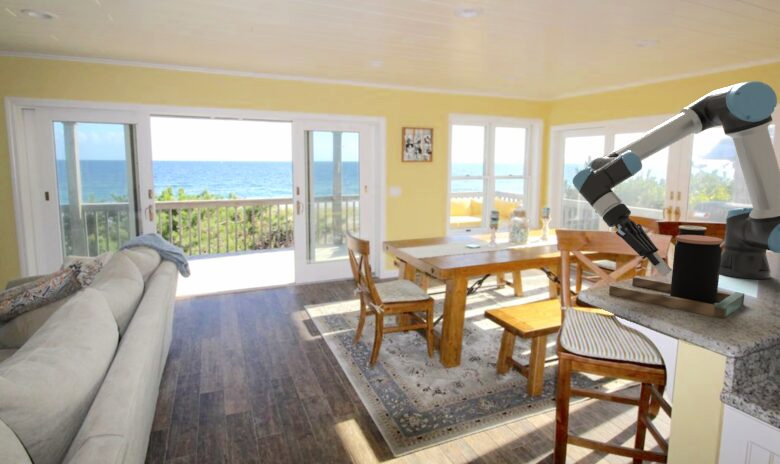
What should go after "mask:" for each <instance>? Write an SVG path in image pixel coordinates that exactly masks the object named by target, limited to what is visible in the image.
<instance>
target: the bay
mask: <svg viewBox="0 0 780 464" xmlns="http://www.w3.org/2000/svg"><path fill="white" fill-rule="evenodd" d="M632 286H636V287H642V288H647V289H653V290H656V289H657V290H658V291H662V292H668V293H670V292H671V281H665V280H661V279H660V280H659V279H654V278H647V277H641V276H636V275H635V276H632ZM608 293H609V295H612V296H617V297H621V298H626V299H630V300H635V301H640V302H644V303H649V304H653V305H659V306H663V307H669V308H673V309H677V310H683V311H685V312H686V311H687V312H692V313H697V314H700V315H706V316H710V317H715V318H719V319H725V318H727V317H728V316H730V314H732V313H733V312H735V311H736V310H738V309H739V308H740V307H742V306H743V305H744V301H745V295H746V294H745V293H743V292H739V291H738V292H737V291H735V292H727V291H722V290H717V299H716V302H718V303H715V304H708V303H703V302H698V301H693V300H688V299H683V298H678V297H673V296H670V295H667V294H663V293H662V294H661V293H656V292H654V291H653V292H652V291H647V290H641V289H637V288H632V287H627V286H622V285H615V284H611V285H609V289H608Z"/></svg>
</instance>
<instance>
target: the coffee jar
mask: <svg viewBox="0 0 780 464" xmlns="http://www.w3.org/2000/svg"><path fill="white" fill-rule="evenodd" d="M677 235H678V234H677ZM677 235H675V241H677V243H676V242H675V245H674V251H673V262H672V271H671V272H672V273H671V280H670V282H671V292H669V296H673V297H678V298H683V299H688V300H693V301H698V302H703V303H708V304H713V305H715V304H716V302H717V301H716V299H717V291H719V290H718V289H719V288H718V287H719V280H720V279H719V278H720V273H719V272H720V263H721V254H722V252H723V249H722V247H721V245H722V244H723V243H724V241H723V240H724V239H723V238H720V237H715V236H708V235H705V236H700V235H678V236H677Z"/></svg>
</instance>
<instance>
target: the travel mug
mask: <svg viewBox="0 0 780 464" xmlns="http://www.w3.org/2000/svg"><path fill="white" fill-rule="evenodd" d="M678 229H679V232H678V234H677V235H676V236H678V235H700V236H706V230H707V227H705V226H699V225H678ZM675 241H676V242H675V244H676V243H677V240H675Z"/></svg>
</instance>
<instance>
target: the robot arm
mask: <svg viewBox="0 0 780 464" xmlns="http://www.w3.org/2000/svg"><path fill="white" fill-rule="evenodd" d="M777 105H778V96H777V93H776V92H775V90H774V89H773V88H772V86H770V85H769V84H768V83H765V82H762V81H760V80H759V81H757V80H754V81H743V82H740V83H736V84H732V85H730V86H726V87H720V88H717V89H716V90H715V89H714V90H712V91H711V92H709V93H707V94H706V95H704V96H702V97H700V98H698V99H697V100H695V101H694V102H693V103H690V104H689V105H687V106H685V107H684V108H682V109H681V110H680V111H679V114H677V115H675V116H674V117H672V118H670V119H668V120H667V121H665V122H663V123H661V124H660V125H658V126H656V127H654V128H652V129H651V130H649V131H646V132H644V133H643V134H641V135H639V136H638V137H636V138H634V139H632V140H631V141H628V142H627V143H625V144H623V145H622V146H619V147H618V148H616V149H614V150H613V151H611V152H609V153H607V154H606V155H604V156H603V155H602V157H597V158H594V159H593V160H591V161H590V162H589V164H588V165H587V166H588V167H585V168H583V169H581V170H580V171H578V172H577V173H576V174H575V175H574V176H573V178H572V184H573V186H574V187H575V189H576V190H577V191H578V193H579V194H580V195H581V196H582V198H584V199H585V200H586V202H588V204H589V205H590V206H591V207H592V208H593V209H594V213H595V214H598V215H599V217H602V221H603V222H604V224H606V225H607V226H608V228H612V227H615V229H617V231H615V234H616V235H617V236H619V237H620V238H621V239H622V240H623V241H625V243H626V244H627V245H629V247H631V249H632V250H633V251H635V253H637V255H638V256H640V257H641V259H642V260H645V259H647V261H648V262H649V263H650V264H651V265H652V266H653V267H654V268H655V269H656V271H657V272H658V273H659V274H660V275H661V276H662V277H664V276H666V275H667V274H669V273H670V272H672V270H673V268H671V267H670V266H669V265H668V264H667V263H666V261H665V260H664V259H663V258H662V257H661V256H660V254H658V251H659V248H657V246H656V245H655V244H654V242H653V241H652V239H651V237H649V235H648V234H647V233H646V231H645V230H644V229H643V227H642V225H641V224H640V223H638V224H637V223H636V222H635V221H634V220H632V219H631V218H630V215H631V213H632V212H631V210H630V208H628V206H627V205H626V204H625V203H623V200H621V198H620V197H619V196H618V195H617V193H615V192H614V191H613V190H612V189H613V188H615V187H616V186H619V185H620V184H621V183H623V182H625V181H626V180H628V179H630V178H631V177H634V176H635V175H636V174H637V173H639V172H640V171H641V170H642V168H643V163H642V161H644V160H645V159H647V158H649V157H651V156H653V155H654V154H656V153H658V152H660V151H663V150H664V149H666V148H667V147H669V146H672V145H673V144H675V143H676V142H677V143H678V142H679V141H680V140H682V139H684V138H686V137H687V136H690V135H692V134H695V135H697V134H700V133H702V132H704V131H706V130H708V129H711V128H715V127H720V126H722V128H723V133H724V134H725V136H728V137H730V138H732V140H733V144H734V147H735V150H736V154H737V158H738V162H739V164H740V167H741V171H742V174H743V177H744V182H745V184H746V189H747V192H748V195H749V198H750V202H751V205H752V207H740V208H737V207H735V208H730V209H729V210H728V212H727V214H726V218H725V221H726V222H725V231H724V239H723V240H724V241H723V249H722V254H721V263H720V272H719V275H723V276H728V277H734V278H741V279H749V280H751V279H753V280H766V279H767V280H768V279H769V278H771V268H770V263H769V260H768V256H767V251H770V252H772V253H775V254H780V167H779V166H780V165H779V163H778V159H777V156H776V152H775V148H774V146H773V141H772V139H771V135H770V131H769V127H770V125H771V124H772V122H773V117H772V114H773V113H774V112H775V108H776V107H777Z"/></svg>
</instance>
